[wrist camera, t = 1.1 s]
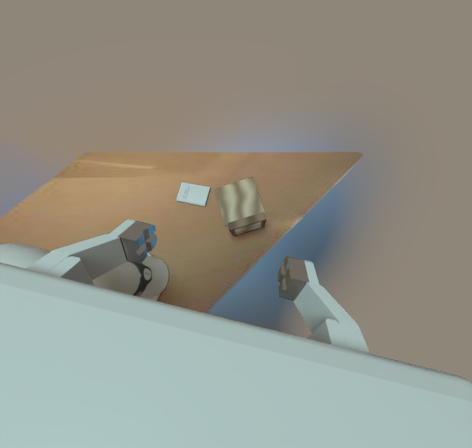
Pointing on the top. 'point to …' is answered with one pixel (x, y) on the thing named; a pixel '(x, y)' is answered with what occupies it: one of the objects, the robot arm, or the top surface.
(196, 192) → the external hard drive
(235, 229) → the walnut picture frame
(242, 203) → the beige square tray
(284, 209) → the top surface
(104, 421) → the robot arm
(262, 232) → the top surface
